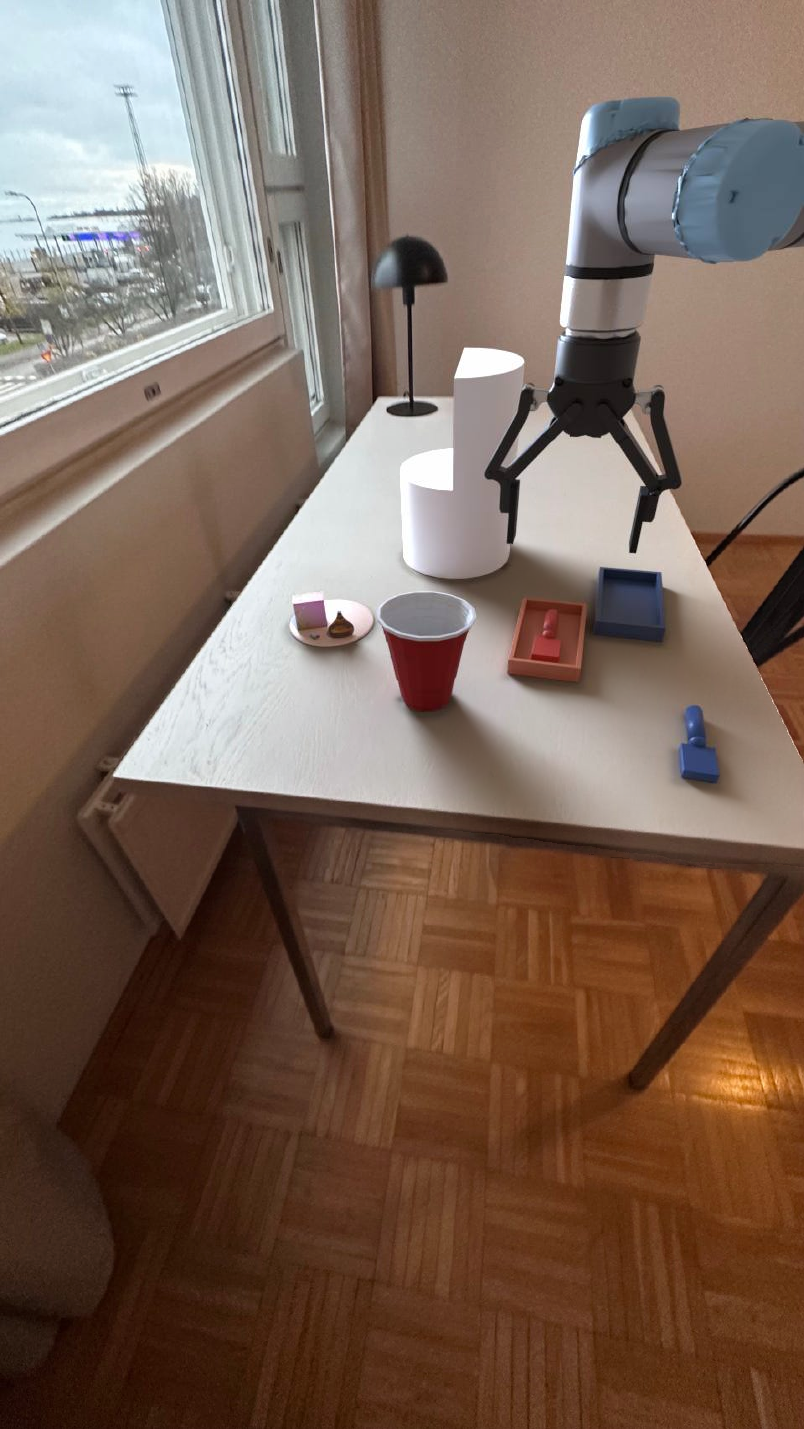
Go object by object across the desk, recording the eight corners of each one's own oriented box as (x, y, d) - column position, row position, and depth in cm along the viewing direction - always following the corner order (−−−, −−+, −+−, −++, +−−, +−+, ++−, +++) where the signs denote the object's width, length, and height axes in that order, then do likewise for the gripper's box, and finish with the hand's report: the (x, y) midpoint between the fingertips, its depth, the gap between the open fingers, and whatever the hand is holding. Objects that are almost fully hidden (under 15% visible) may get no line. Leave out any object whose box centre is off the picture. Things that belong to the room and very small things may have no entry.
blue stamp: (675, 711, 72) (679, 699, 71) (707, 716, 71) (711, 703, 70) (680, 777, 64) (685, 765, 63) (716, 783, 64) (721, 771, 62)
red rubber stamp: (539, 616, 87) (540, 605, 86) (564, 619, 86) (566, 608, 85) (530, 661, 79) (531, 649, 78) (558, 664, 79) (559, 652, 77)
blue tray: (658, 584, 93) (661, 572, 92) (661, 642, 82) (665, 628, 81) (597, 579, 95) (599, 566, 94) (593, 634, 84) (595, 620, 83)
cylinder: (510, 531, 109) (524, 347, 90) (507, 581, 96) (524, 378, 78) (411, 528, 111) (405, 348, 93) (395, 576, 98) (385, 378, 80)
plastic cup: (488, 685, 77) (493, 599, 69) (444, 737, 70) (445, 649, 62) (412, 659, 82) (409, 576, 74) (364, 706, 75) (356, 620, 67)
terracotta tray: (584, 616, 88) (587, 603, 86) (578, 682, 77) (581, 668, 75) (521, 610, 90) (523, 597, 88) (506, 673, 79) (508, 659, 77)
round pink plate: (291, 652, 84) (286, 623, 81) (286, 606, 93) (281, 579, 90) (380, 639, 85) (378, 610, 82) (367, 595, 94) (364, 568, 91)
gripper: (740, 322, 59) (684, 537, 72) (474, 323, 64) (469, 522, 78) (751, 338, 53) (688, 567, 67) (460, 337, 59) (457, 549, 73)
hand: (570, 543), depth 73 cm, fingers open, 13 cm apart
